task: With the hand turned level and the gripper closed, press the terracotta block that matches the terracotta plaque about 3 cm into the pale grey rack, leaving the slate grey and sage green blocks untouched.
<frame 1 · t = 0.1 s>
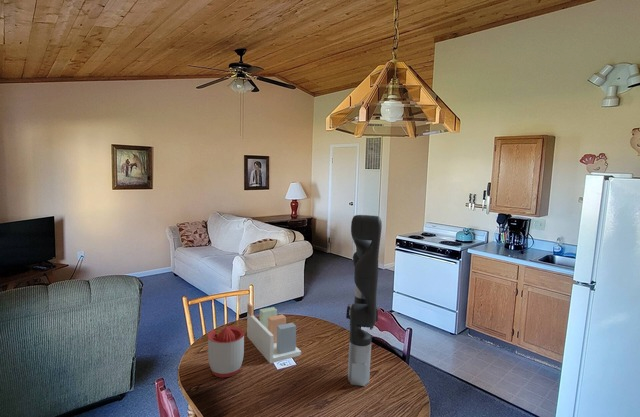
hand: (361, 327, 171), 17 cm above the table, tool pointing down, fingers open, 8 cm apart
slate block: (286, 337, 178), point 8 cm above the table, slide at 0.0 cm
terracotta block: (276, 328, 187), point 8 cm above the table, slide at 0.0 cm
citrus juicer: (225, 370, 164), on the table
rack: (272, 345, 187), on the table
sage block: (268, 320, 197), point 8 cm above the table, slide at 0.0 cm
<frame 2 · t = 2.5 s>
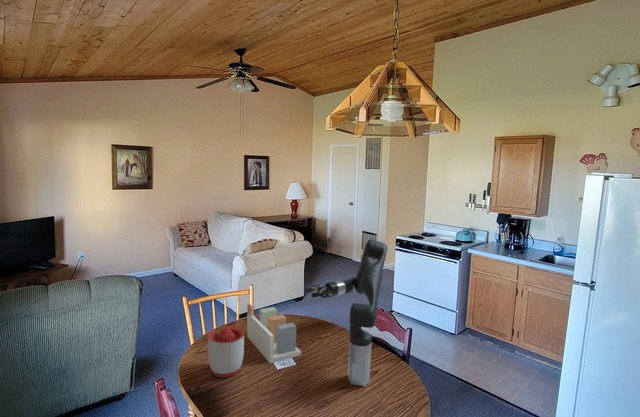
hand: (308, 293, 194), 24 cm above the table, tool horizontal, fingers open, 7 cm apart
nothing on the table moved.
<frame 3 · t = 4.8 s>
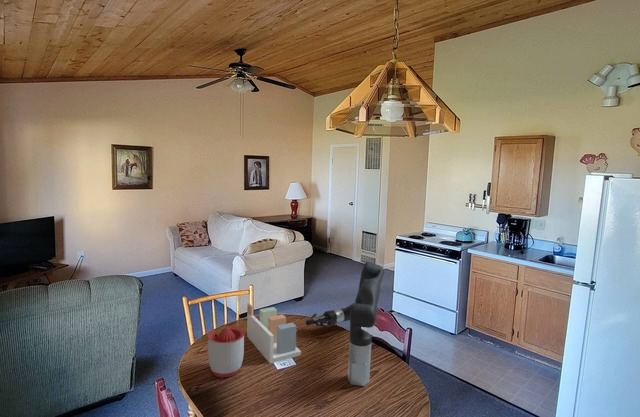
hand: (306, 322, 196), 8 cm above the table, tool horizontal, fingers closed
nothing on the table moved.
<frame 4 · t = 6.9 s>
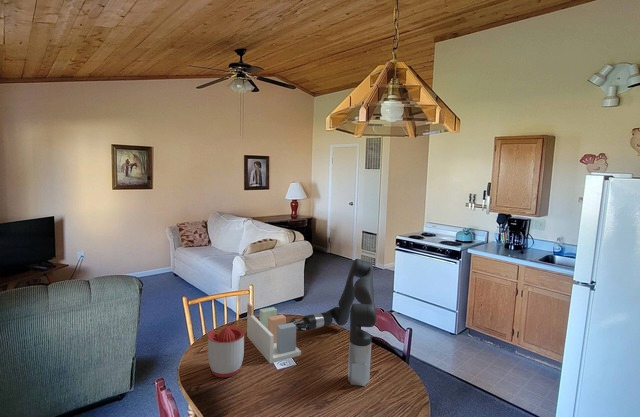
hand: (284, 327, 189), 8 cm above the table, tool horizontal, fingers closed
terracotta block: (276, 328, 187), point 8 cm above the table, slide at 0.0 cm, touching gripper
everything else where it was.
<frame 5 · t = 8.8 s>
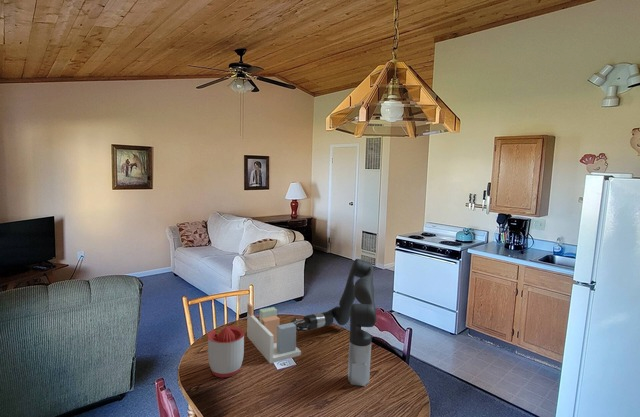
hand: (285, 327, 190), 8 cm above the table, tool horizontal, fingers closed
terracotta block: (270, 330, 185), point 8 cm above the table, slide at 3.5 cm
everything else where it was.
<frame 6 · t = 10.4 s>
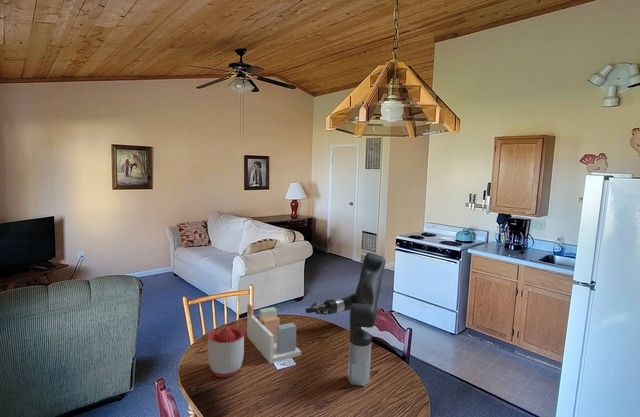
hand: (306, 311, 195), 15 cm above the table, tool horizontal, fingers closed
nothing on the table moved.
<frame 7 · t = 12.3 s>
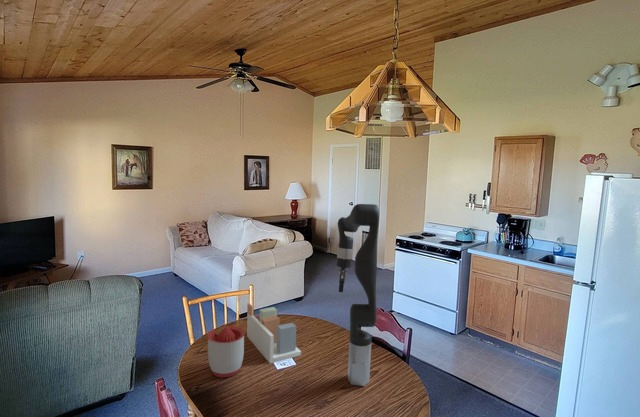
hand: (340, 291, 187), 28 cm above the table, tool pointing down, fingers closed
nothing on the table moved.
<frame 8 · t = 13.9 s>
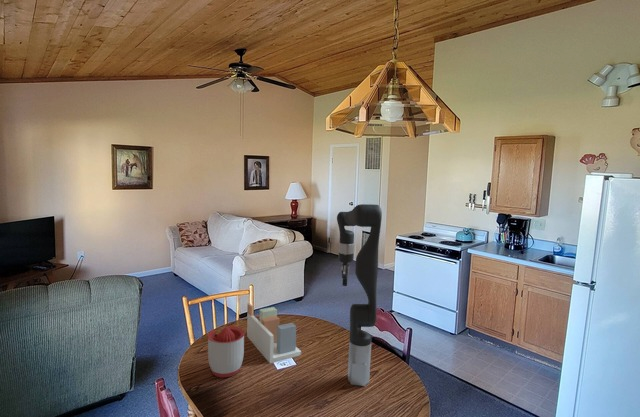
hand: (344, 285, 187), 31 cm above the table, tool pointing down, fingers closed
nothing on the table moved.
at the end: terracotta block slide at 3.5 cm; slate block slide at 0.0 cm; sage block slide at 0.0 cm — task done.
